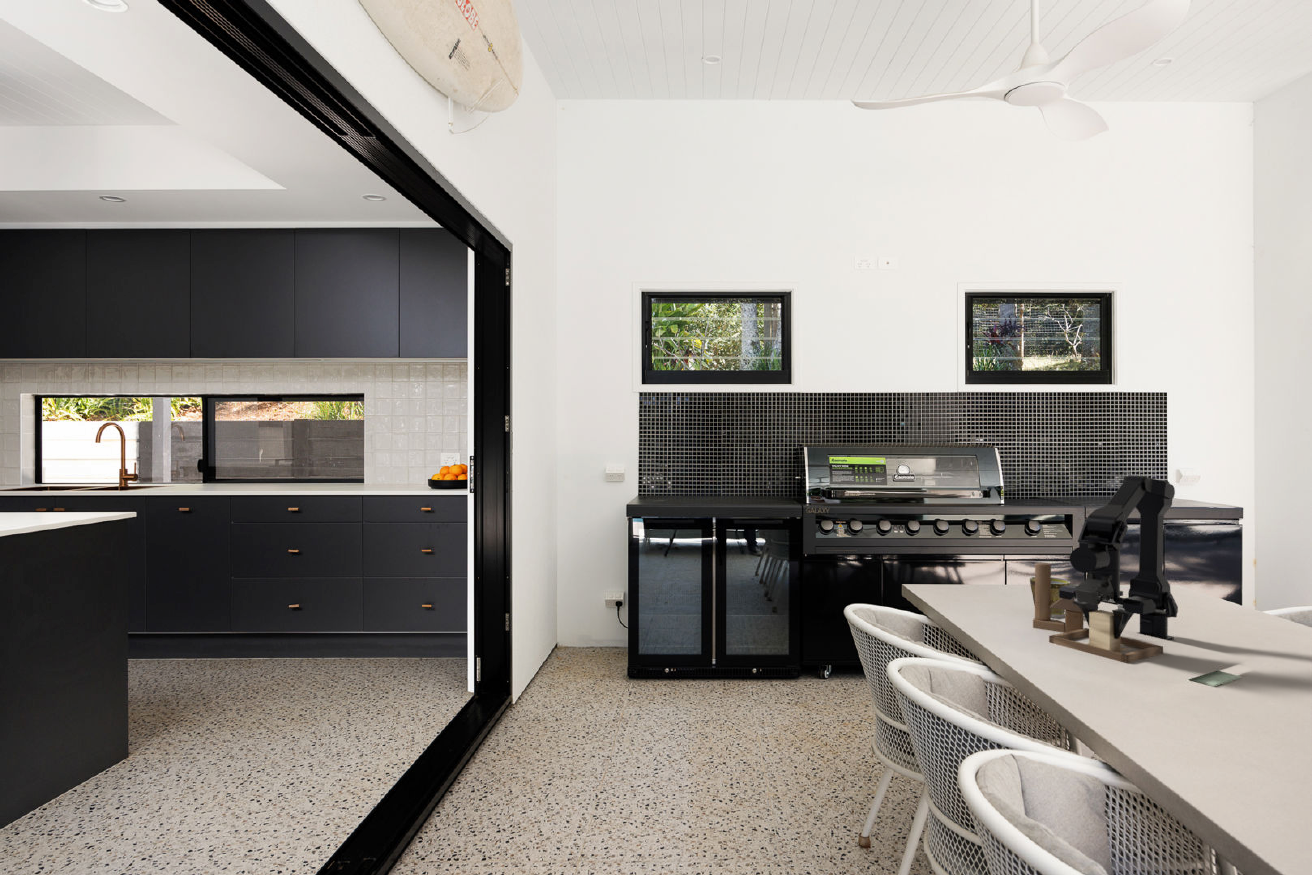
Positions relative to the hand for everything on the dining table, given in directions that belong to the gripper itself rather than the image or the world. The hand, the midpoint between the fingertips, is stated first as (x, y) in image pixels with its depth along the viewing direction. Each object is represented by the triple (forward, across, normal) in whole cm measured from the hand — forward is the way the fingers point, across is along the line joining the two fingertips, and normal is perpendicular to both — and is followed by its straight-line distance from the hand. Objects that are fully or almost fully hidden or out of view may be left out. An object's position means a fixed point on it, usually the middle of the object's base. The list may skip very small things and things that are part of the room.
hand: (1104, 635), depth 160 cm
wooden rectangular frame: (+4, 0, 0) cm, 4 cm away
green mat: (+4, +17, +3) cm, 18 cm away
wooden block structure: (+4, -14, +5) cm, 16 cm away
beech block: (+3, 0, 0) cm, 3 cm away
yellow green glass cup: (+4, -29, +24) cm, 38 cm away
